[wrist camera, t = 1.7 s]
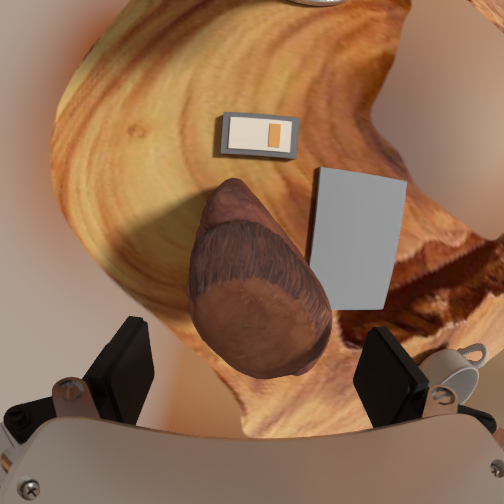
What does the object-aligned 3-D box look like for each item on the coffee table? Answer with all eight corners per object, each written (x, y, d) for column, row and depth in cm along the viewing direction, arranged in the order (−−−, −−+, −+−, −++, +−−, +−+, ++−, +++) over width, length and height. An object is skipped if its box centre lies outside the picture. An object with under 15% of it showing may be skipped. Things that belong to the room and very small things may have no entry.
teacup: (410, 399, 36) (429, 430, 29) (394, 371, 34) (416, 407, 26) (470, 350, 34) (494, 375, 26) (462, 313, 31) (493, 339, 24)
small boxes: (224, 114, 24) (223, 111, 23) (297, 119, 24) (299, 117, 23) (215, 336, 31) (214, 342, 29) (275, 339, 31) (276, 345, 30)
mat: (319, 167, 25) (320, 167, 25) (404, 181, 26) (406, 181, 25) (302, 306, 30) (303, 309, 29) (380, 306, 30) (382, 309, 30)
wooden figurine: (190, 209, 26) (101, 280, 9) (242, 169, 25) (233, 168, 8) (261, 297, 29) (276, 439, 12) (310, 263, 28) (383, 384, 11)
